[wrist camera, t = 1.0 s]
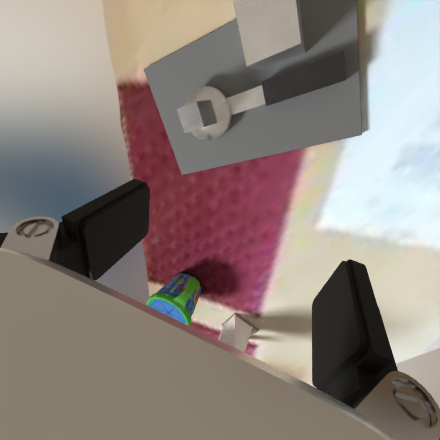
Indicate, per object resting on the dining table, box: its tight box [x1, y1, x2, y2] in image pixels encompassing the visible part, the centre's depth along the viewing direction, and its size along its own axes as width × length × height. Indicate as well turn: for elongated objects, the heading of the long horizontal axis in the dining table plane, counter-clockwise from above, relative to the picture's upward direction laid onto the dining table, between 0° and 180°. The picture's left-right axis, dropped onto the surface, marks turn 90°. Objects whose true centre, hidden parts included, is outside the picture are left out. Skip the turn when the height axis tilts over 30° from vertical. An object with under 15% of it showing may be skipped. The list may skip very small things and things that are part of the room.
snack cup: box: [147, 273, 202, 326], centre depth 52 cm, size 16×10×10 cm
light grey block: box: [233, 0, 305, 71], centre depth 24 cm, size 5×5×7 cm
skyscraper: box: [218, 313, 258, 352], centre depth 46 cm, size 8×8×28 cm
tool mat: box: [144, 0, 362, 175], centre depth 32 cm, size 28×17×1 cm, turn 108°
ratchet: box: [177, 51, 346, 140], centre depth 28 cm, size 21×7×7 cm, turn 108°
